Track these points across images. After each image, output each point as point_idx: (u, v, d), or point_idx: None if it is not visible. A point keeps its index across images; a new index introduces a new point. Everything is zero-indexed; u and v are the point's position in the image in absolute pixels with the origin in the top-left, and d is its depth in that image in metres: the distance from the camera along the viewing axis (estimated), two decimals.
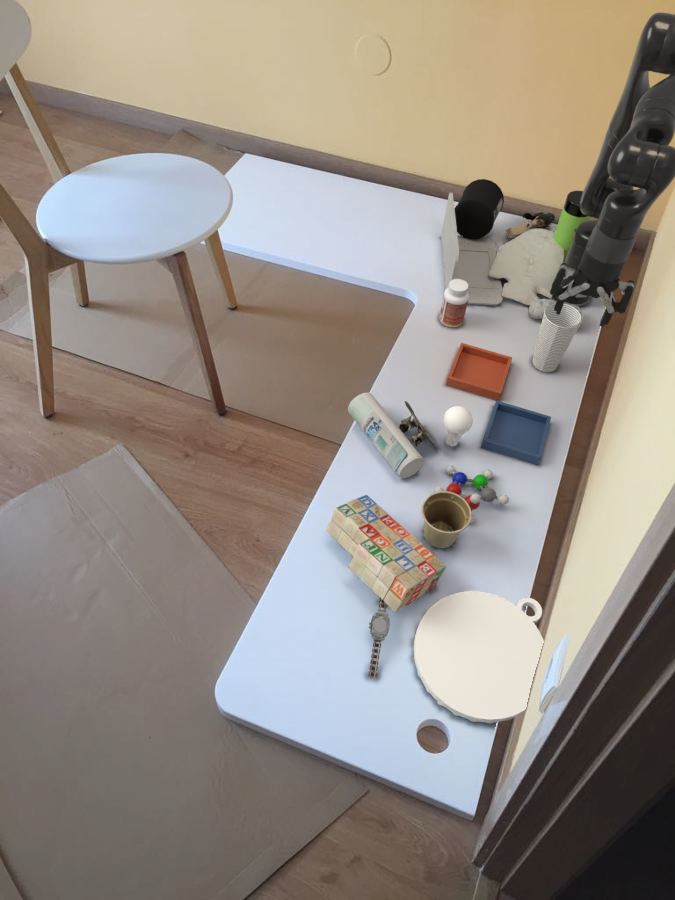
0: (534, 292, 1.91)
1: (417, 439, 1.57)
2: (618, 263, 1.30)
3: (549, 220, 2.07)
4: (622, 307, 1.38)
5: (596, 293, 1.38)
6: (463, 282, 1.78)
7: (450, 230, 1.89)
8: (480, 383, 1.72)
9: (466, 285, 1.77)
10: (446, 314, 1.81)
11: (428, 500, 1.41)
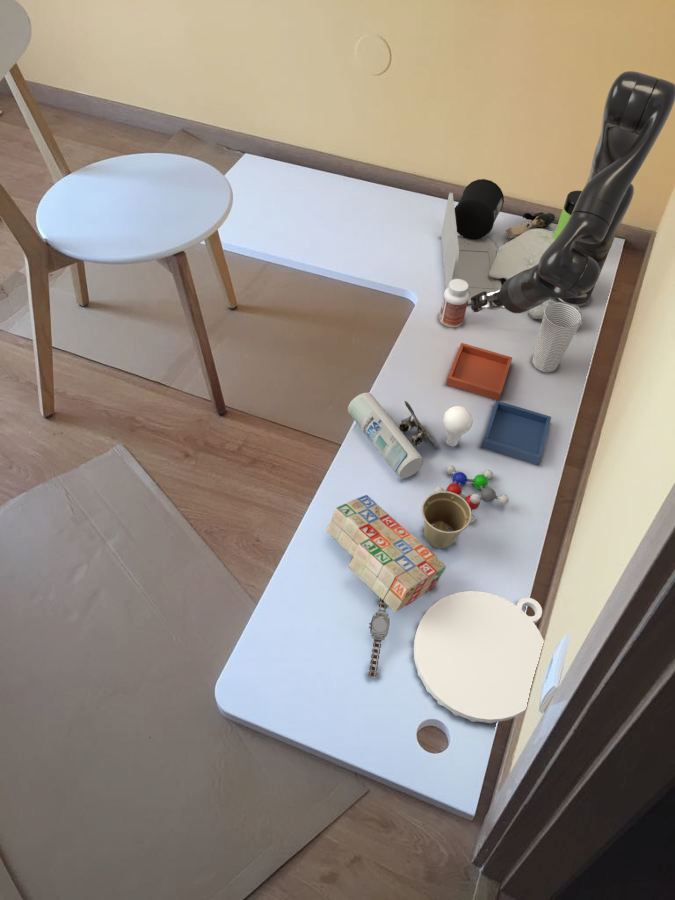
0: None
1: (417, 439, 1.57)
2: None
3: (549, 220, 2.07)
4: None
5: None
6: (463, 282, 1.78)
7: (450, 230, 1.89)
8: (480, 383, 1.72)
9: (466, 285, 1.77)
10: (446, 314, 1.81)
11: (428, 500, 1.41)
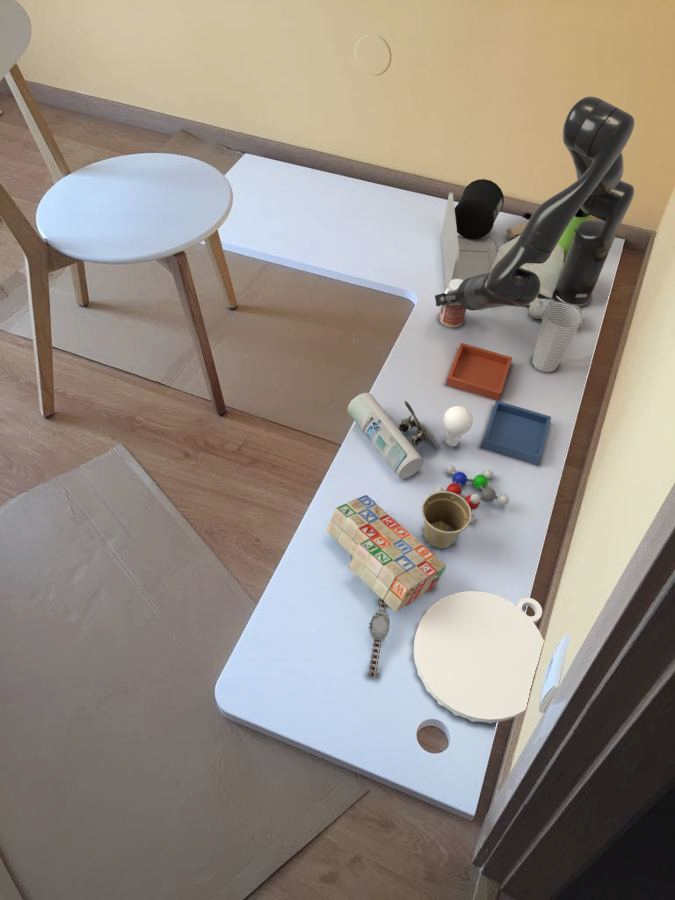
0: None
1: (417, 439, 1.57)
2: None
3: None
4: None
5: None
6: None
7: (450, 230, 1.89)
8: (480, 383, 1.72)
9: None
10: (446, 314, 1.81)
11: (428, 500, 1.41)
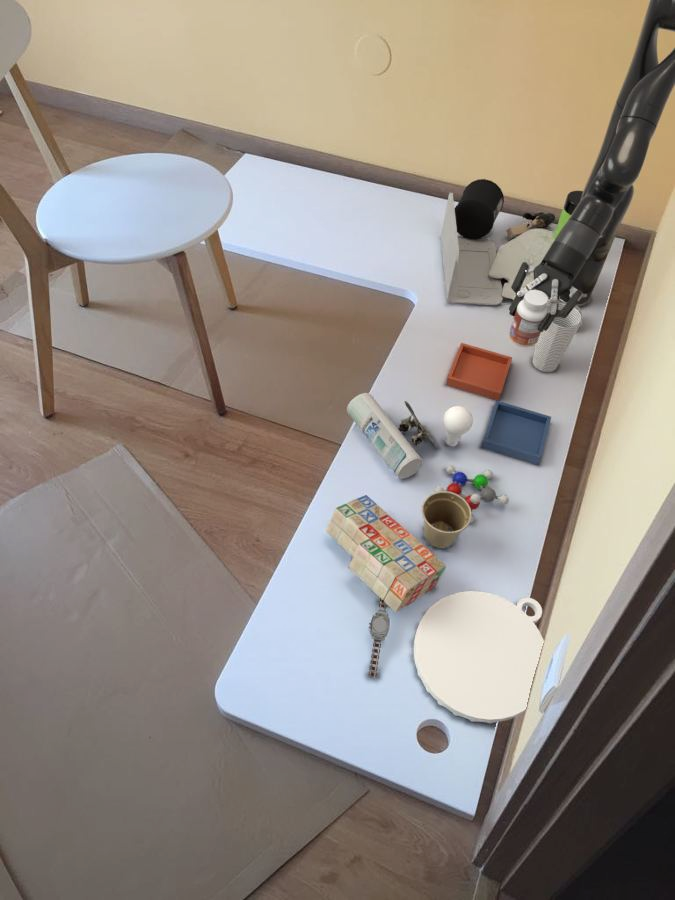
0: None
1: (417, 439, 1.57)
2: None
3: (549, 220, 2.07)
4: None
5: None
6: (528, 295, 1.47)
7: (450, 230, 1.89)
8: (480, 383, 1.72)
9: (530, 291, 1.48)
10: None
11: (428, 500, 1.41)
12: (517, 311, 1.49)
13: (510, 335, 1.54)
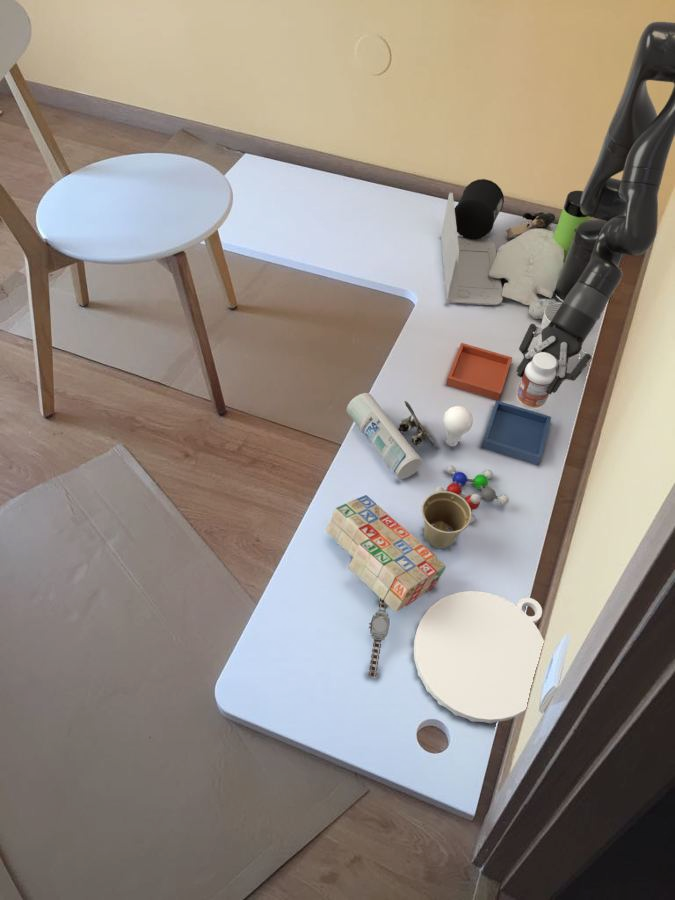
0: (534, 292, 1.91)
1: (417, 439, 1.57)
2: None
3: (549, 220, 2.07)
4: None
5: None
6: (537, 358, 1.45)
7: (450, 230, 1.89)
8: (480, 383, 1.72)
9: (539, 354, 1.46)
10: None
11: (428, 500, 1.41)
12: (525, 373, 1.47)
13: (518, 396, 1.52)
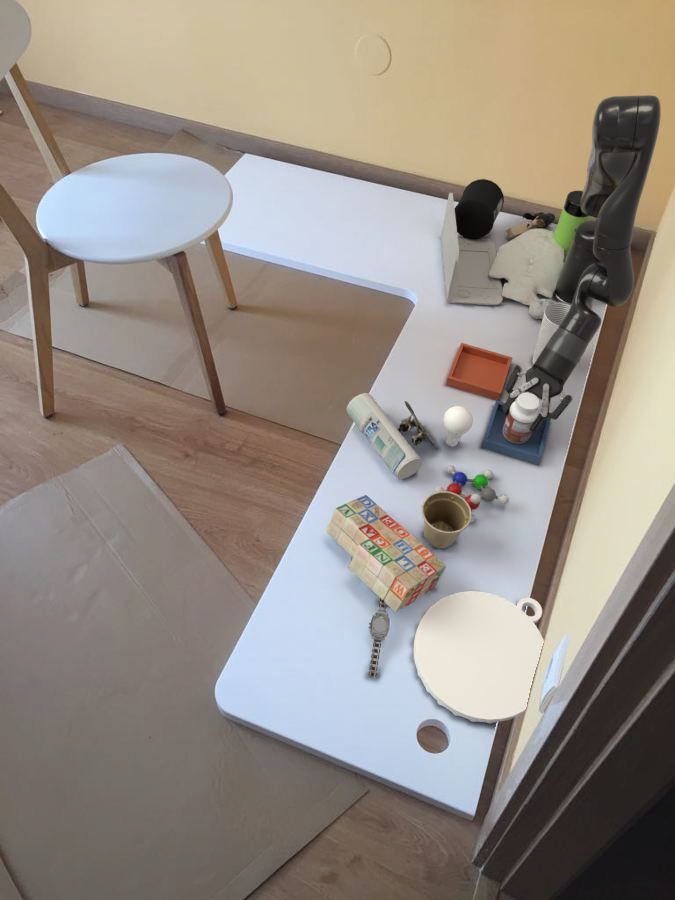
0: (534, 292, 1.91)
1: (417, 439, 1.57)
2: None
3: (549, 220, 2.07)
4: None
5: None
6: (521, 398, 1.54)
7: (450, 230, 1.89)
8: (480, 383, 1.72)
9: (522, 394, 1.55)
10: None
11: (428, 500, 1.41)
12: (510, 412, 1.57)
13: (503, 432, 1.62)
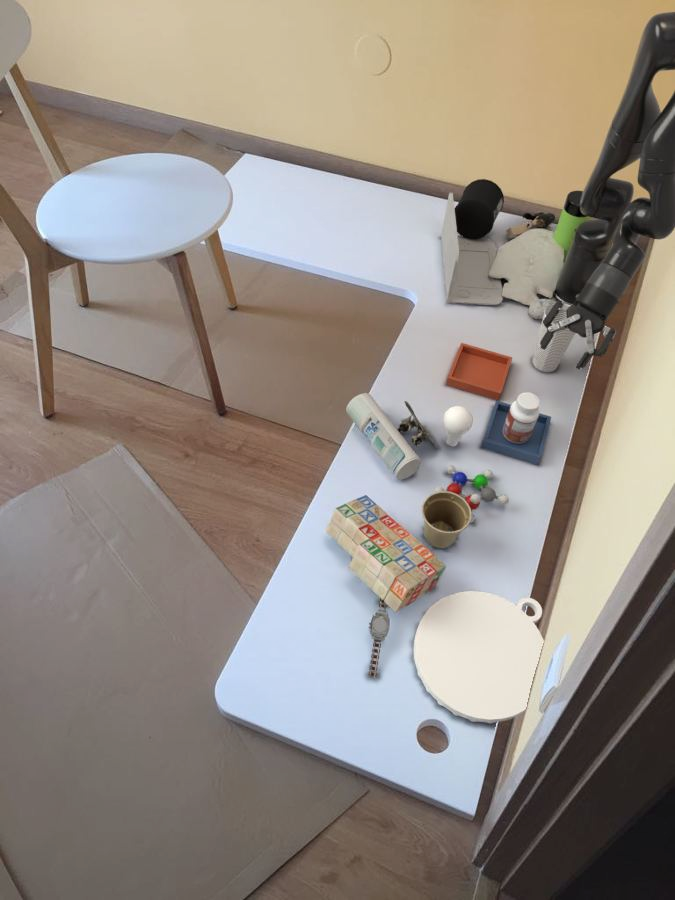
0: (534, 292, 1.91)
1: (417, 439, 1.57)
2: None
3: (549, 220, 2.07)
4: None
5: None
6: (521, 398, 1.54)
7: (450, 230, 1.89)
8: (480, 383, 1.72)
9: (523, 394, 1.55)
10: None
11: (428, 500, 1.41)
12: (510, 412, 1.57)
13: (503, 432, 1.62)
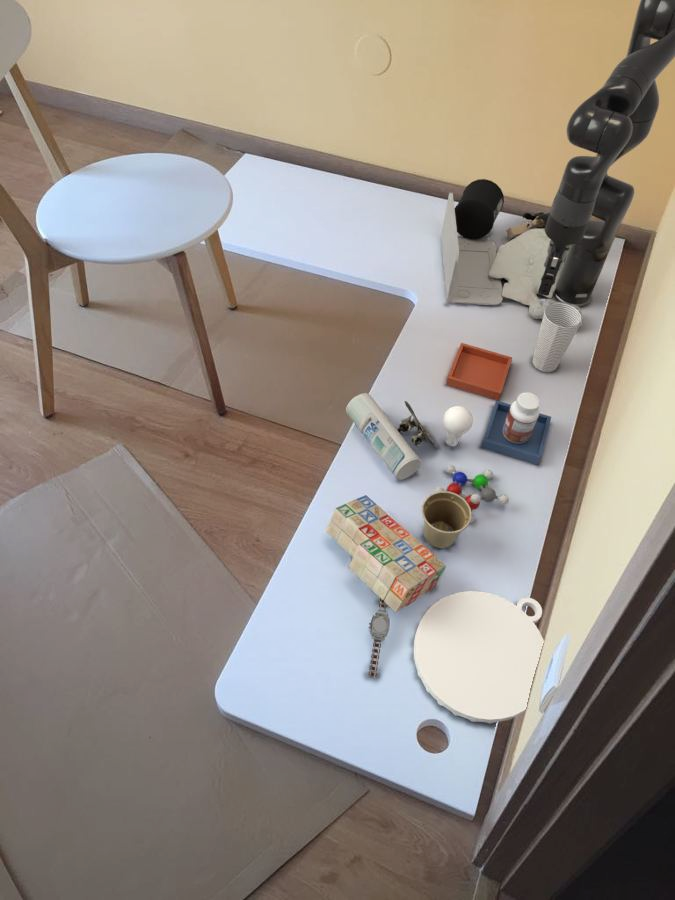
0: (534, 292, 1.91)
1: (417, 439, 1.57)
2: None
3: None
4: None
5: None
6: (521, 398, 1.54)
7: (450, 230, 1.89)
8: (480, 383, 1.72)
9: (523, 394, 1.55)
10: None
11: (428, 500, 1.41)
12: (510, 412, 1.57)
13: (503, 432, 1.62)
